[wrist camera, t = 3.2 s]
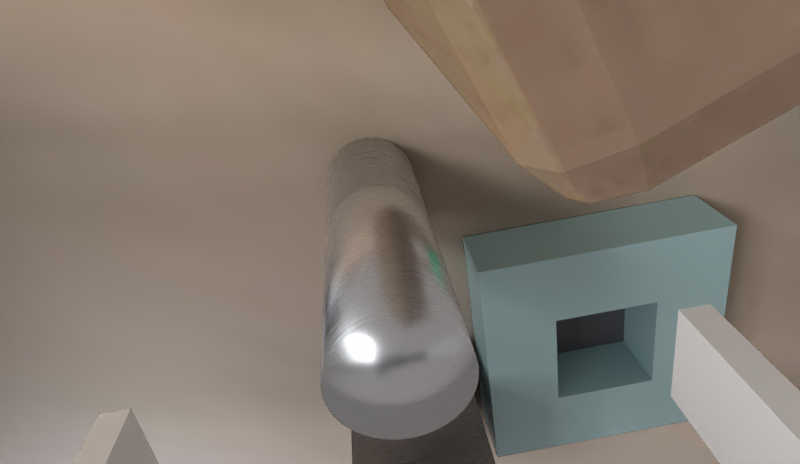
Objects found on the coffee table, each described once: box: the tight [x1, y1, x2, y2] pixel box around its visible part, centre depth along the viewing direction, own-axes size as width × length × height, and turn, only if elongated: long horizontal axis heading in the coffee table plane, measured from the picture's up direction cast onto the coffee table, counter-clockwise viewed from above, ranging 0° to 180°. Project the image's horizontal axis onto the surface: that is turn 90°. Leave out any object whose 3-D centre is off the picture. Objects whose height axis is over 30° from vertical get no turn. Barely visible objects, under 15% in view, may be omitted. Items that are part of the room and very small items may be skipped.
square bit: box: [352, 395, 495, 464], centre depth 29 cm, size 6×6×9 cm
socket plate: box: [463, 195, 737, 457], centre depth 30 cm, size 12×12×4 cm
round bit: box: [321, 138, 479, 440], centre depth 20 cm, size 4×4×14 cm
